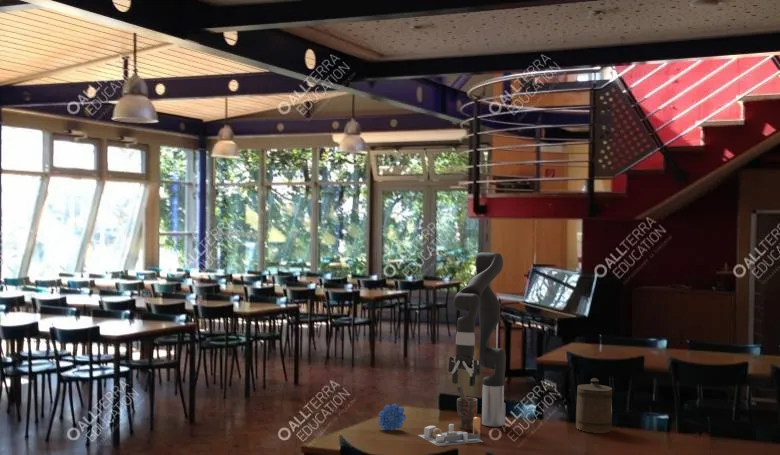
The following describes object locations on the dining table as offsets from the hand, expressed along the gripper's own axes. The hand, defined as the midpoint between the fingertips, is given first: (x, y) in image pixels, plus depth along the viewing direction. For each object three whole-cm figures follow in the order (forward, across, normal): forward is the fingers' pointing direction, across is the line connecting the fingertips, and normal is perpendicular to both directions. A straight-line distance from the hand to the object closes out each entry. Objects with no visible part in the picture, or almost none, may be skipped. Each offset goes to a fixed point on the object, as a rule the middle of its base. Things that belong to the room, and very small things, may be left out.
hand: (463, 384), depth 313 cm
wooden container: (+19, -23, -61) cm, 68 cm away
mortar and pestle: (+22, +11, -17) cm, 29 cm away
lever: (+21, -1, +3) cm, 21 cm away
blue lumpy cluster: (+23, +30, +8) cm, 39 cm away
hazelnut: (+22, +7, +6) cm, 24 cm away
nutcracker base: (+23, +4, +2) cm, 23 cm away
